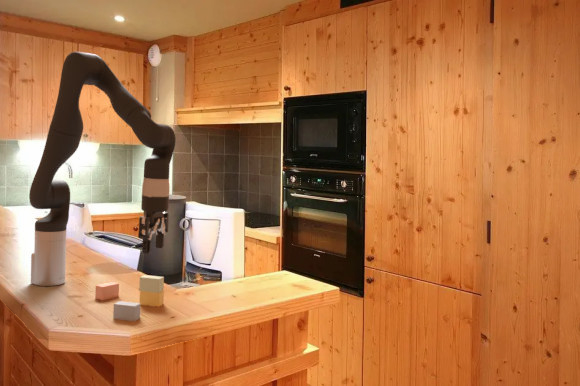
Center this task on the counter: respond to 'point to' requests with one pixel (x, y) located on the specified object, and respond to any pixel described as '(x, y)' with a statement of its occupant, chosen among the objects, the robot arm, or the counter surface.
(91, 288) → the counter surface
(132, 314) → the slate brick
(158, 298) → the mustard brick
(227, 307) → the counter surface
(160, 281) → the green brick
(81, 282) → the counter surface
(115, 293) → the terracotta brick
